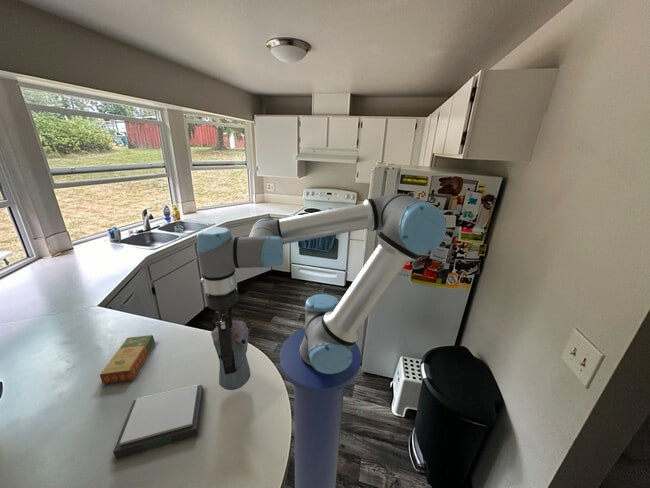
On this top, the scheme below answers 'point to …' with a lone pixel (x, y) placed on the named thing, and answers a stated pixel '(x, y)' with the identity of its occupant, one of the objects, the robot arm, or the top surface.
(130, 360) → the carton
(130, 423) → the kitchen scale
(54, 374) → the top surface
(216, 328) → the moka pot
